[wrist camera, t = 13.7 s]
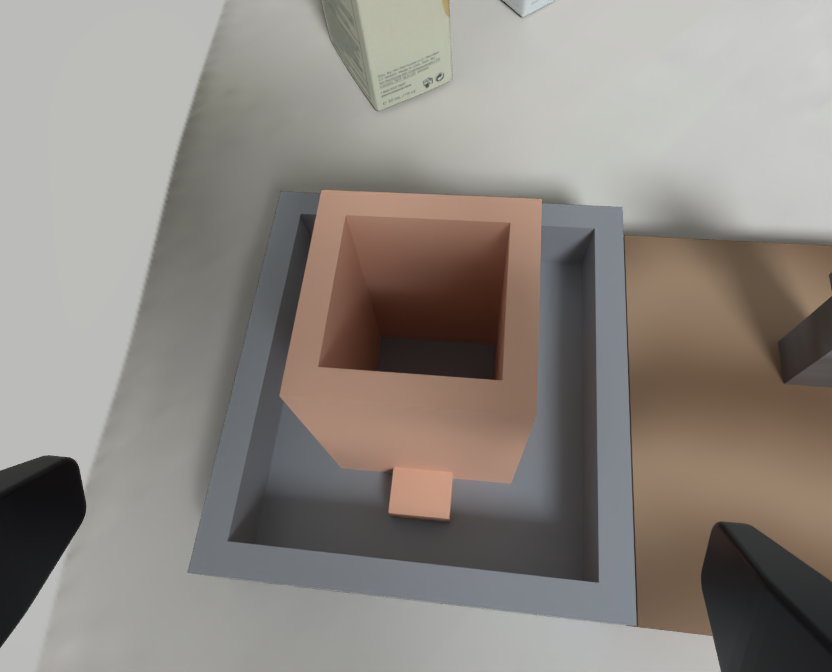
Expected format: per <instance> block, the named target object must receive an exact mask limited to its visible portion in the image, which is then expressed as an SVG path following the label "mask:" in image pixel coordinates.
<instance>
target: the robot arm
mask: <svg viewBox="0 0 832 672" xmlns="http://www.w3.org/2000/svg"><path fill="white" fill-rule="evenodd" d="M85 513H86V500H85V495H84V490H83V485H82V480H81V475H80V470H79V466H78V464H77V463H76V461H75V460H74V459H72V458H70V457H59V456H49V455H48V456H42V457H39V458H36V459H33V460H30V461H27V462H24V463H22V464H18V465H16V466H13V467H10V468H7V469H4V470H1V471H0V648H1V646H2V645H3V644H4V642H5V641H6V640H7V638H8V637H9V636H10V634H11V633H12V632H13V630H14V629H15V627H16V626H17V624H18V623H19V622H20V620H21V619H22V618H23V616H24V615H25V613H26V612H27V610H28V609H29V607H30V606H31V604H32V603H33V601H34V599H35V598H36V596H37V595H38V593H39V591H40V590H41V588H42V587H43V585H44V583H45V582H46V580H47V579H48V577H49V575H50V574H51V572H52V570H53V569H54V567H55V566H56V564H57V562H58V561H59V559H60V557H61V556H62V554H63V553H64V551H65V549H66V548H67V546H68V545H69V543H70V541H71V540H72V538H73V536H74V535H75V533H76V532H77V530H78V528H79V527H80V525H81V523H82V521H83V519H84V517H85ZM701 587H702V593H703V597H704V601H705V605H706V610H707V614H708V618H709V622H710V626H711V631H712V635H713V639H714V643H715V648H716V652H717V656H718V660H719V665H720V669H721V672H832V581H830V580H829V579H828V578H826V577H825V576H823V575H822V574H820V573H819V572H818V571H816V570H815V569H813V568H812V567H810V566H809V565H807V564H806V563H805V562H803V561H802V560H800V559H799V558H797V557H796V556H795V555H793V554H792V553H790V552H789V551H787V550H786V549H785V548H783V547H782V546H780V545H779V544H777V543H776V542H775V541H773V540H772V539H770V538H769V537H767V536H766V535H765V534H763V533H762V532H760V531H759V530H757V529H756V528H755V527H753V526H751V525H749V524H745V523H734V522H724V521H719V522H717V523H716V524H714V526H713V528H712V530H711V533H710V537H709V541H708V545H707V550H706V554H705V558H704V562H703V566H702V571H701Z"/></svg>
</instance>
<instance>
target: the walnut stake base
mask: <svg viewBox="0 0 832 672" xmlns="http://www.w3.org/2000/svg"><path fill="white" fill-rule="evenodd" d="M623 241H624V270H625V299H626V328H627V358H628V387H629V416H630V445H631V474H632V503H633V533H634V562H635V591H636V620H637V626H634V627H643V628H651V629H659V630H668V631H676V632H685V633H693V634H702V635H710V636H713V635H712V631H711V626H710V622H709V618H708V614H707V610H706V605H705V601H704V597H703V593H702V587H701V571H702V566H703V562H704V558H705V554H706V550H707V545H708V541H709V537H710V533H711V530H712V528H713V526H714V524H716V523H717V522H719V521H724V522H734V523H745V524H749V525H751V526H753V527H755V528H756V529H757V530H759V531H760V532H762V533H763V534H765V535H766V536H767V537H769V538H770V539H772V540H773V541H775V542H776V543H777V544H779V545H780V546H782V547H783V548H785V549H786V550H787V551H789V552H790V553H792V554H793V555H795V556H796V557H797V558H799V559H800V560H802V561H803V562H805V563H806V564H807V565H809V566H810V567H812V568H813V569H815V570H816V571H818V572H819V573H820V574H822V575H823V576H825V577H826V578H828V579H829V580H830V581H832V246H827V245H807V244H787V243H768V242H748V241H728V240H709V239H689V238H669V237H649V236H630V235H624V238H623ZM626 626H631V625H626Z"/></svg>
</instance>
